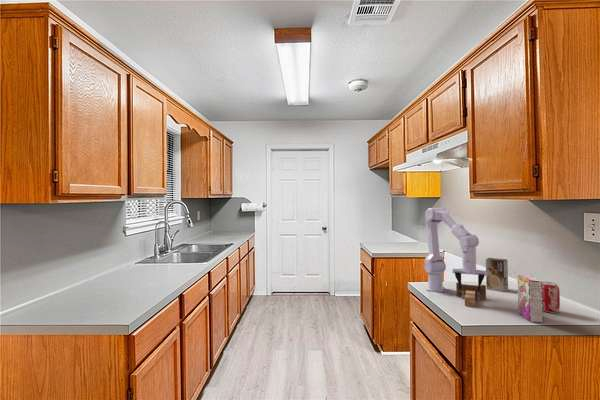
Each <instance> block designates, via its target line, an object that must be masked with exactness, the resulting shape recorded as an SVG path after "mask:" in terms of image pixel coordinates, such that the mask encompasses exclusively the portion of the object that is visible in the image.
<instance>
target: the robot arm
mask: <svg viewBox="0 0 600 400" xmlns="http://www.w3.org/2000/svg"><path fill="white" fill-rule="evenodd" d="M449 213H450V211H449V210H448V209H447V208H446V207H429V208H427V209H426V211H425V213H424V216H425V217H424V218H425V226H426V236H427V237H426V238H427V247H428V248H427V249H428V255H427V256H426V257H425V258H424V265H423V267H424V271H426V273H427V282H428V283H427V285H428V286H427V288H426V291H430V292H440V293H442V292H444V290H445V287H444V285H443V284H444V283H443V274H444V272H445V271H446V269H447V265H446V262H445V258H444V257H443V256H442V255H441V252H440V244H439V234H438V225H439V224H440V223H442V222H443V223H444V224H446V225H447V226H448V228H450V229H451V233H452V235H453V236H454V237H455V238H456V239H457V240H458V243H459V245H460V249H461V252H462V268H452V272H451V273H452V274H454V276H455V279H456V280H457V283H459V287H460V289H462V284H463V283H462V274H463V275H474V276H475V275H476V276H477V281H478V284H477V286H478V291H480V286H481V285H482V284H483V281H484V279H485V277H486V276H487V271H486V270H479V269H477V247H478V245H479V243H480V241H479V238H478V236H477V235H476V234H472V233H470V232H469V231H468V230H467V229H466V228H465V226H464V224H463V225H462V224H458V223H457V222H456V221H455V220H454V219H453V217H451V215H450V214H449Z"/></svg>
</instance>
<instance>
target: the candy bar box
mask: <svg viewBox="0 0 600 400" xmlns="http://www.w3.org/2000/svg"><path fill="white" fill-rule="evenodd" d="M542 282H543V281H542V280H540V279H539V278H536V277H534V276H532V275H531V274H517V294H518V295H517V297H518V298H517V299H518V301H517V302H518V313H519V314H520V315H521V316H522V317H523V318H524V319H526V320H527V321H528V322H529V323H535V324H536V323H541V324H543V323H544V311H543V299H542Z"/></svg>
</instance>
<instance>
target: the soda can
mask: <svg viewBox="0 0 600 400" xmlns="http://www.w3.org/2000/svg"><path fill="white" fill-rule="evenodd" d="M560 298H561V297H560V287H559V286H558V283H556V282H552V281H542V299H543V312H544V311H545V312H544V313H547V312H549V313H548V314H557V313H559V312H560V309H561V299H560Z"/></svg>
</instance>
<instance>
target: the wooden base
mask: <svg viewBox="0 0 600 400" xmlns="http://www.w3.org/2000/svg"><path fill="white" fill-rule="evenodd" d="M461 284H462V289H460V287H459V283H458V282H456V283H455V285H456V287H455V290H456V297H461V298H462V299H464V300H465V293H466V290H472V291H475V297H476V301H480V300H486V299H487V285H486V284H481V286H480V291H478V284H477V285H475V284H465V283H461Z"/></svg>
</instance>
